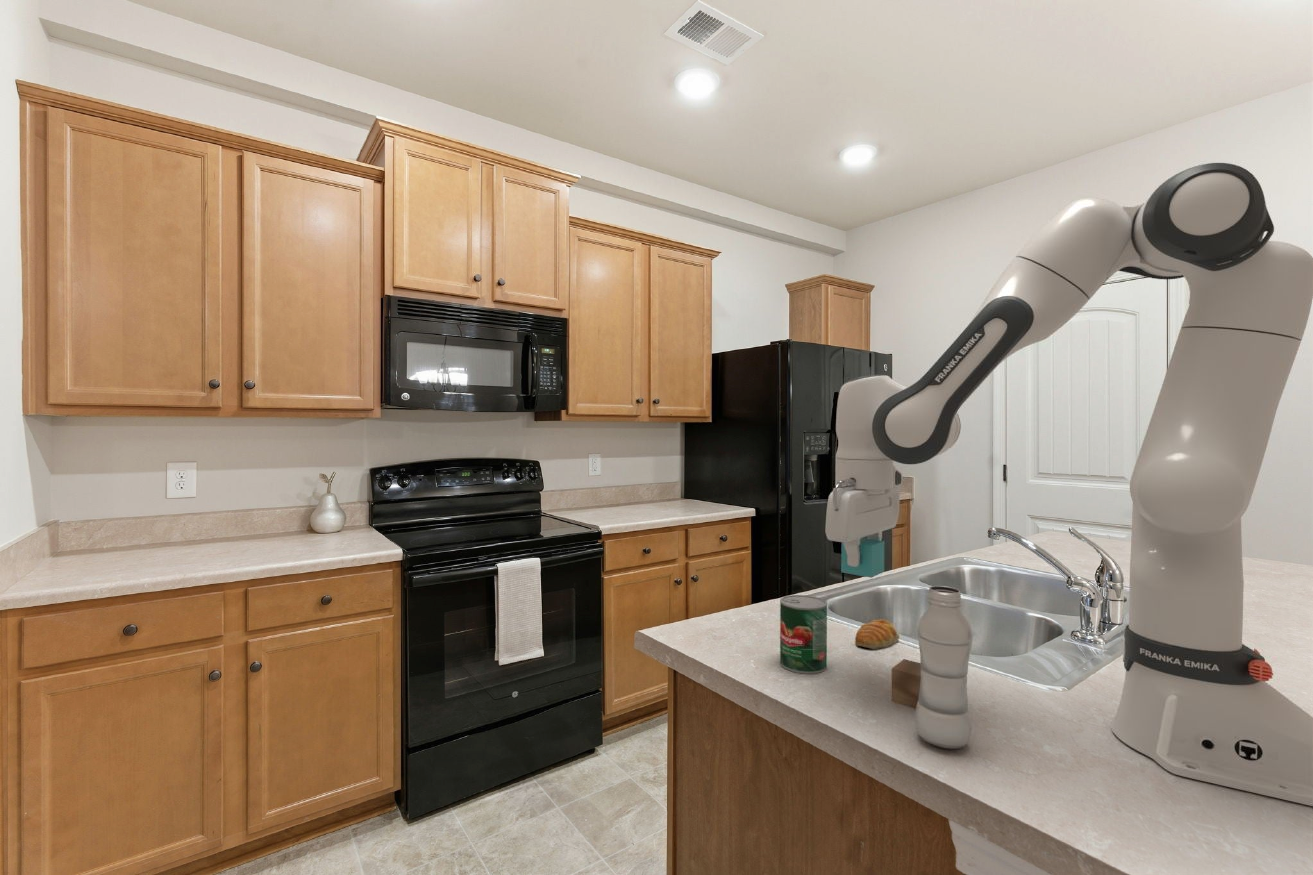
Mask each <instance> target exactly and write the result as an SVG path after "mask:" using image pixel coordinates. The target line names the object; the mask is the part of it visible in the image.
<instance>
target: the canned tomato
mask: <svg viewBox="0 0 1313 875" xmlns="http://www.w3.org/2000/svg"><path fill="white" fill-rule="evenodd" d="M779 601H780V603H779V605H780V606H779V607H780V608H779V611H780V612H779V614H780V615H779V619H780V620H779V621H780V622H779V626H780V628H779V630H780V632H779V635H780V636H779V638H780V640H779V644H780V645H779V657H780V659H779V664H780V666H781V667H782V668H784V669H785V670H786V671H787V670H788V671H789V670H790V671H789V672H793V673H797V674H805V675H813V674H814V675H815V674H820V673H824V672H825V671H826V670H827V668H828V665H827V662H828V660H827V657H828V654H827V653H828V651H827V650H828V645H827V644H828V641H827V640H828V630H827V629H828V609H827V608H828V602H827V601H826V600H824V598H823V599H822V598H820V597H817V596H812V595H804V594H792V595H791V594H790V595H785V596H782V597H781V598H780V599H779Z"/></svg>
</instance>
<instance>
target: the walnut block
mask: <svg viewBox="0 0 1313 875" xmlns="http://www.w3.org/2000/svg"><path fill="white" fill-rule="evenodd" d="M920 681H921V662H917V661H913V660H910V659H905V658H904V659H902V660H901V661H900V662H898V663H897V664H896V665H894V666H893V667H892V668H891V693H890V694H891V695H890V696H891V698H890V699H891V702H893V703H897V704H900V705H902V706H907V707H909V708H913V709H916V706H917V702H918V699H919V690H920Z"/></svg>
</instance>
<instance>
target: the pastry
mask: <svg viewBox="0 0 1313 875" xmlns="http://www.w3.org/2000/svg"><path fill="white" fill-rule="evenodd" d="M856 631H857V632H856V634H855V644H856V646H858V647H864V648H868V649H871V650H877V649H885V648H888V647H890V646H893V645H895V644H896V643H897V642H898V641H899V639H900V634H899V633H898V631H897V629H896V627H895V626H894V625H893V623H892V622H889V621H888V620H886V619H883V618H882V619H873V620H872V621H870V622H867V623H863V624H862V625H861V627H860V628H858V630H856Z"/></svg>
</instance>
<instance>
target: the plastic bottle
mask: <svg viewBox="0 0 1313 875" xmlns="http://www.w3.org/2000/svg"><path fill="white" fill-rule="evenodd" d="M928 588H929V589H928V598H927V602H928V603H929V604H930V606H929V607H928V609H926V610H925V612H924V613H922V616H921V617H920V618H919V620H918V622H917V627H916V629H917V632H916V633H917V641H918V647H919V654H920V655H919V656H920V659H919V660H920V663H921V681H920V690H919V699H918V702H917V706H916V708H915V711H914V723H915V729H916V732H917V733H918V734H919V736H920V738H921V739H922V740H923V741H925V742H926V743H928V744H931V745H933V746H935V747H939V748H943V749H949V750H950V749H951V750H955V749H961V748H963V747H964V746H965V745H966V744H967V743H968V742H970V738H971V733H972V721H971V716H970V710H969V700H968V687H967V686H968V684H967V683H968V675H969V674H968V673H969V672H968V671H969V662H970V657H971V651H972V646H973V640H974V633H973V629H972V625H971V624H970V623H969V620H967V618H966V617H965V615H964V613H963V612H962V611H961V610H960V607H962V605H963V604H962V603H963V602H962V596H961V595H962V593H961V590H960V589H958V588H955V587H951V586H944V585H933V586H929V587H928Z"/></svg>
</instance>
